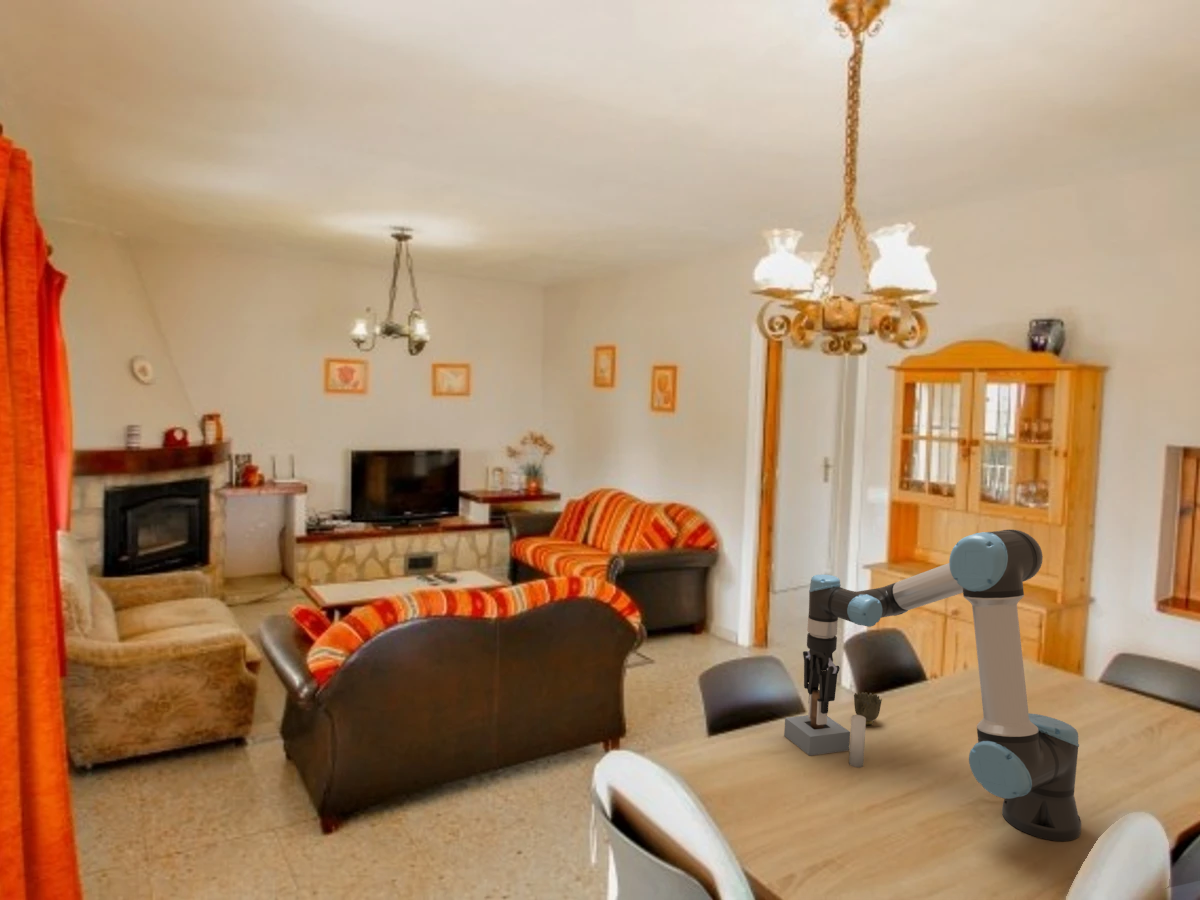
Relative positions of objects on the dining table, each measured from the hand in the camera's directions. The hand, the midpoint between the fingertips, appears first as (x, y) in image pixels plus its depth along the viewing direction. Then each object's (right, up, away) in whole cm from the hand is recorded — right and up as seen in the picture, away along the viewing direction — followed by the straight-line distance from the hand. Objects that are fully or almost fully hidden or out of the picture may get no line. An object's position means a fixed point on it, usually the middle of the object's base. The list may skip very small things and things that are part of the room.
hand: (817, 720), depth 211 cm
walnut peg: (0, -4, 0) cm, 4 cm away
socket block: (0, -6, 0) cm, 6 cm away
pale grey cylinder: (+7, -7, -11) cm, 15 cm away
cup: (+17, -6, +14) cm, 23 cm away
